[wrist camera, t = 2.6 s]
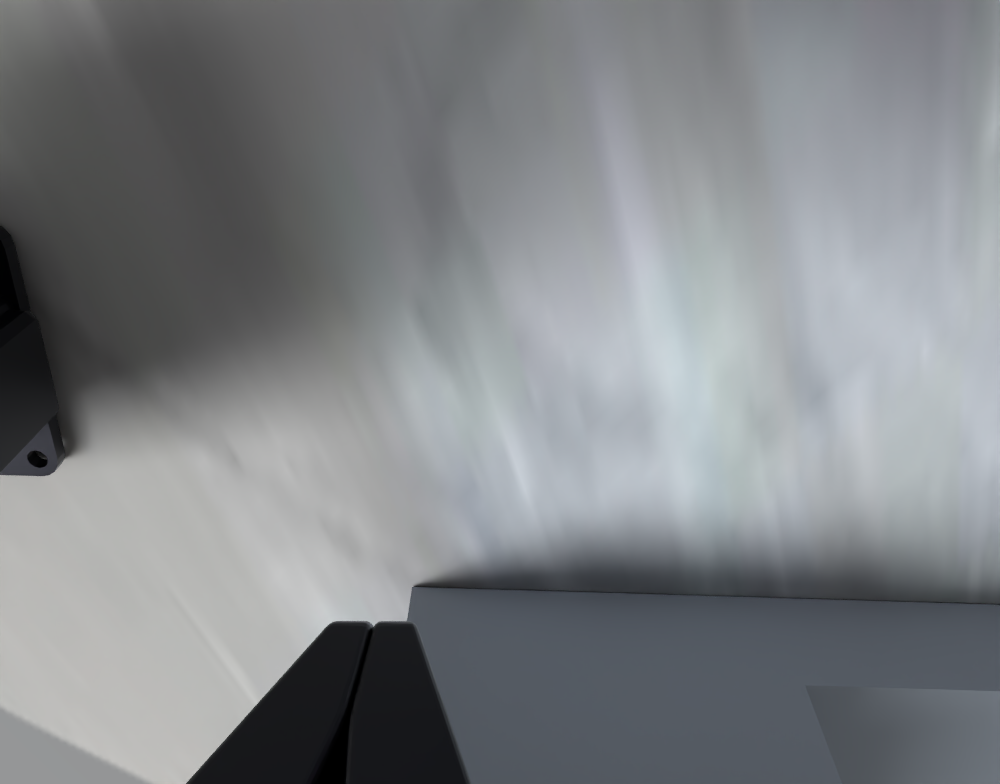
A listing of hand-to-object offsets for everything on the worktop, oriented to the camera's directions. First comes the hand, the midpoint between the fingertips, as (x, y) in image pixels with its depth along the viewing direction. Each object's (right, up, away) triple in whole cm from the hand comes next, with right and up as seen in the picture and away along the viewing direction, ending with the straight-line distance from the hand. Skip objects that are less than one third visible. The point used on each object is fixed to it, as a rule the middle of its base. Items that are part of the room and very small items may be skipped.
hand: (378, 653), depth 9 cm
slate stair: (+8, -8, +18) cm, 21 cm away
